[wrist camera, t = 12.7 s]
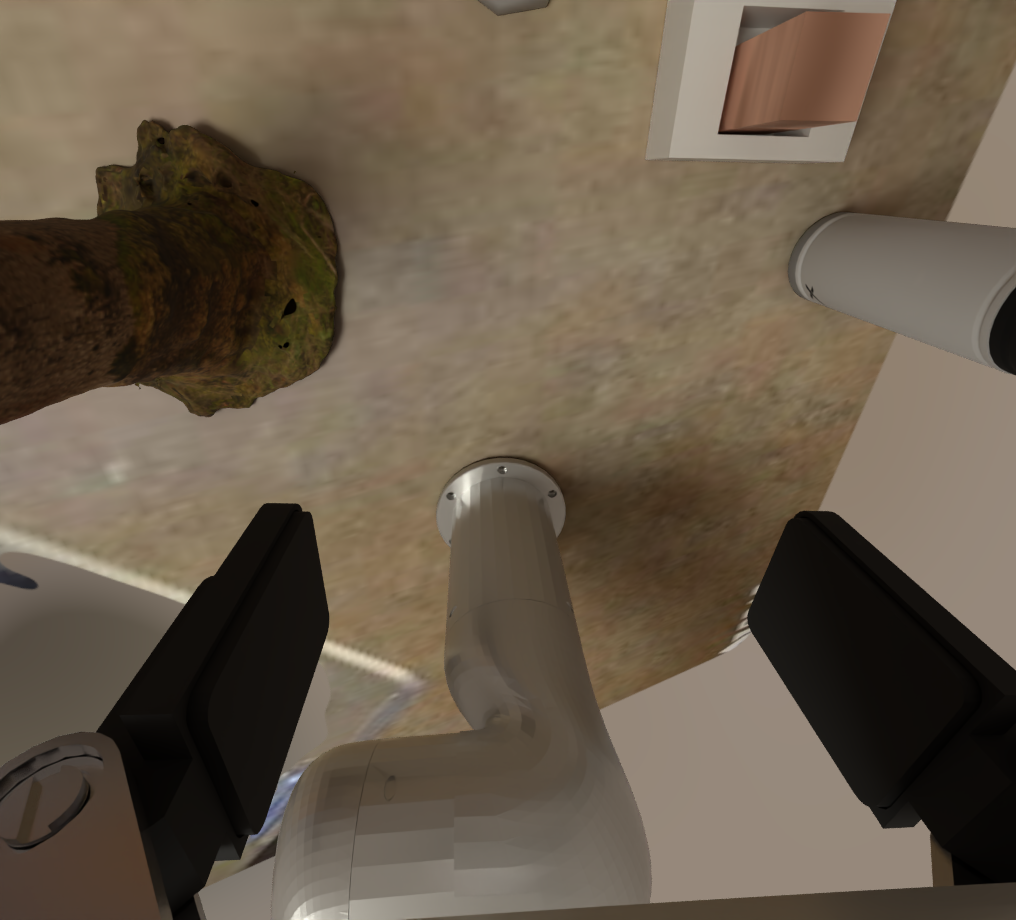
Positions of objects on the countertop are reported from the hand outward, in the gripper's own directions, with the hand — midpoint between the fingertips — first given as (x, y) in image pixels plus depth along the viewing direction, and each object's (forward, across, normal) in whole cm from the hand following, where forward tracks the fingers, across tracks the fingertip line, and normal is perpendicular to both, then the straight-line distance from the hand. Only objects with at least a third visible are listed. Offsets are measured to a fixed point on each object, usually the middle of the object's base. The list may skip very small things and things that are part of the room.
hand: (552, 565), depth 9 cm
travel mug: (+31, -26, -4) cm, 40 cm away
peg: (+30, -15, -13) cm, 36 cm away
